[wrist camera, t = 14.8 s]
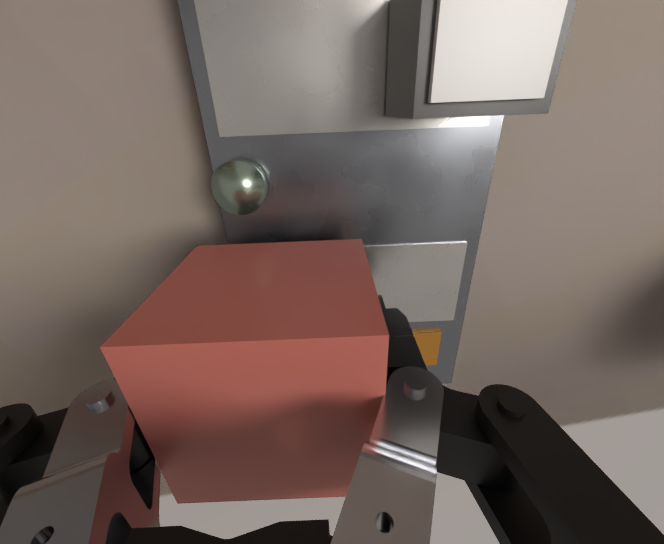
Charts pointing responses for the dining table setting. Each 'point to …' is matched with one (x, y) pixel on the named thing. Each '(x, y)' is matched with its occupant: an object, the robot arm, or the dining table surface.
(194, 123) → the dining table surface
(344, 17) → the panel
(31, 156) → the dining table surface
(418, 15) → the toggle
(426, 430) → the robot arm
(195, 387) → the salmon pink cube
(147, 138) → the dining table surface
